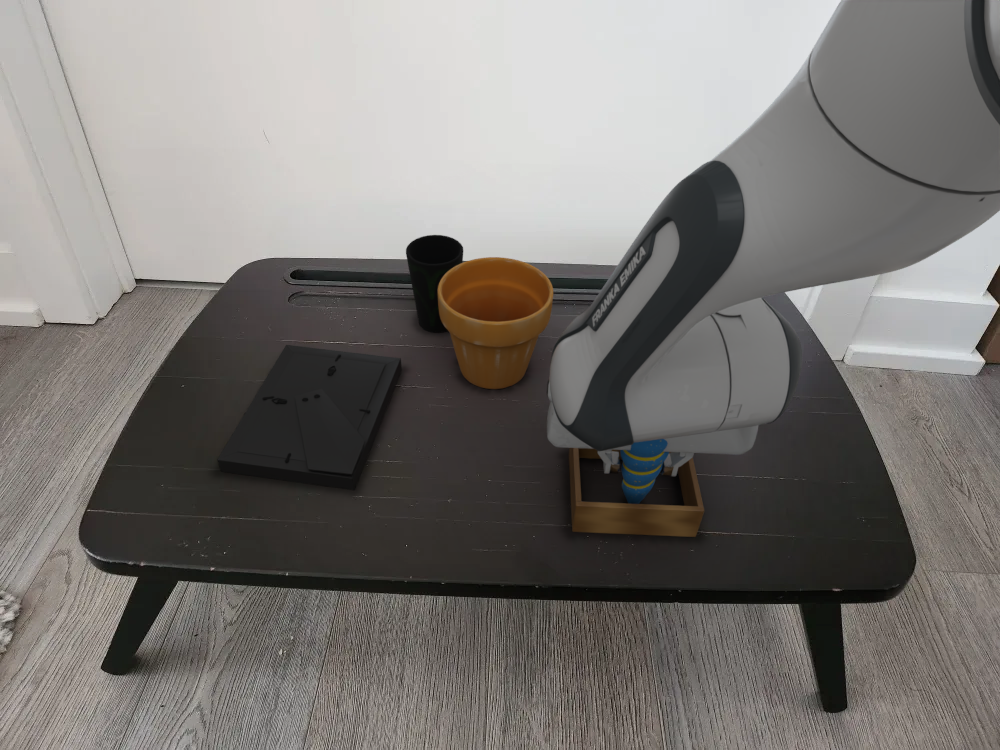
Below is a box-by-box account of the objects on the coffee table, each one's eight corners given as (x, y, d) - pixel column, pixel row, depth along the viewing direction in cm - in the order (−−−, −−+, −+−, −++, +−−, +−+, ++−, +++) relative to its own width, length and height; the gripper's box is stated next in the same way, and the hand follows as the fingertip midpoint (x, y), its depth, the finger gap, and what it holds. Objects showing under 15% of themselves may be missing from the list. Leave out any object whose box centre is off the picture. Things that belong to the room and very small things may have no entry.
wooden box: (680, 458, 85) (687, 432, 82) (695, 537, 77) (704, 511, 74) (568, 453, 86) (571, 427, 83) (572, 532, 77) (576, 505, 74)
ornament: (653, 529, 78) (679, 432, 68) (605, 521, 78) (624, 424, 68) (654, 492, 82) (679, 395, 72) (609, 485, 82) (627, 388, 72)
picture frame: (354, 490, 81) (401, 370, 96) (351, 473, 79) (400, 353, 94) (221, 471, 82) (288, 356, 98) (215, 455, 81) (285, 340, 96)
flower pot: (549, 339, 102) (555, 260, 93) (543, 408, 91) (550, 327, 83) (449, 331, 103) (447, 252, 94) (433, 399, 92) (428, 318, 83)
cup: (443, 299, 108) (441, 228, 100) (475, 323, 104) (474, 252, 96) (401, 318, 105) (394, 246, 97) (431, 344, 100) (427, 271, 92)
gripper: (549, 390, 65) (540, 489, 74) (779, 399, 64) (741, 498, 73) (548, 345, 69) (540, 444, 78) (762, 353, 69) (729, 451, 78)
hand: (639, 470), depth 76 cm, fingers closed on ornament, 4 cm apart
